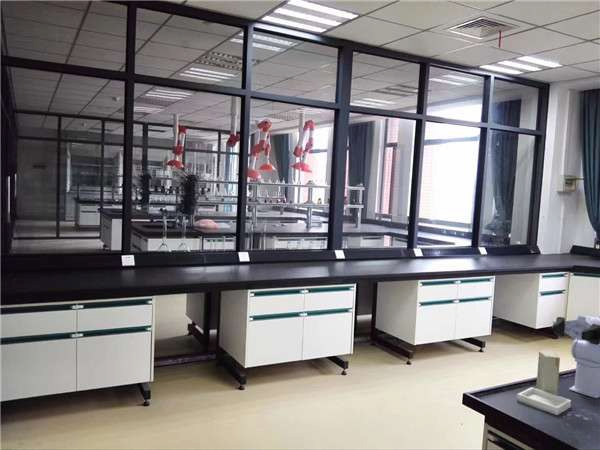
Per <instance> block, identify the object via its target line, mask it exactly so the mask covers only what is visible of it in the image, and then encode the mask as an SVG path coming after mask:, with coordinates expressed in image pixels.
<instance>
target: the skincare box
mask: <svg viewBox="0 0 600 450" xmlns="http://www.w3.org/2000/svg"><path fill="white" fill-rule="evenodd" d="M537 359H538V361H537V374H536V375H537V376H536V387H535V388H536V389H539V390H542V391H545V392H548V393H551V394H554V395H557V396H558V388H559V379H560V378H559V377H560V362H561V357H560V356H559V355H558V354H557V353H555V352H553V351H545V350H539V351H538V358H537Z"/></svg>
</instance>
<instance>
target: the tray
mask: <svg viewBox="0 0 600 450" xmlns="http://www.w3.org/2000/svg"><path fill="white" fill-rule="evenodd" d="M516 401H517V402H520V403H522V404H525V405H528V406H530V407H532V408H536V409H538V410H542V411H544V412H546V413H550V414H553V415H554V416H555V415H556V416H558V415H560V414H562V413H563V412H565V411H567V410H568V409H569V408H571V405H572V400H571V399H569V398H565V397H563V396H559V395H558V394H557V395H554V394H551V393H548V392H545V391H542V390H539V389H536V387H533V386H532V387H529V388H527V389H525V390H523V391H521V392H519V393H517V394H516Z"/></svg>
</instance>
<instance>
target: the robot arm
mask: <svg viewBox="0 0 600 450" xmlns="http://www.w3.org/2000/svg"><path fill="white" fill-rule="evenodd" d="M552 333H554V334H555V335H556V336H558V337H561V338H563V337H565V334H567V335H568V336H570V337H571V338H573V339H574V340H573V341H572V343H571V348H570V353H571V356H572V358H574V362H576V364H575V365H576V368H575V377H574V385H573V386H571V387H569V388H568V390H570V391H573V392H575V393H579V394H582V395H585V396H588V397H591V398H594V399H599V398H600V315H599V316H598V317H596V316H590V315H587V316H586V317H585V316H581V315H579V316H577V318H576V319H571V320H566V317H561V316H557V317H556V320H554V321H552Z"/></svg>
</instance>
